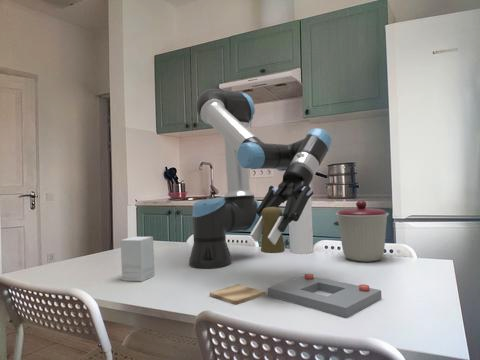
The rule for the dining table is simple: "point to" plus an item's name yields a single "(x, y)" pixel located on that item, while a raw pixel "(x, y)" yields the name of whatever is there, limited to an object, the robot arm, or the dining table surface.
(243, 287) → the coaster
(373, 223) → the canister
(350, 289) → the plate
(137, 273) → the supplement box
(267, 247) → the olive pawn
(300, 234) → the cylinder container
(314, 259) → the dining table surface
